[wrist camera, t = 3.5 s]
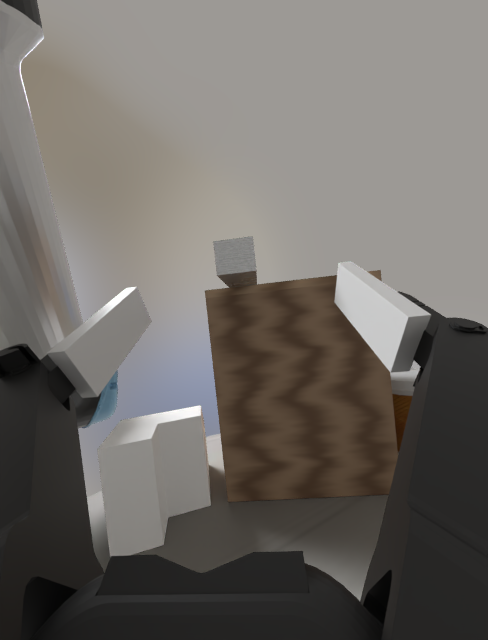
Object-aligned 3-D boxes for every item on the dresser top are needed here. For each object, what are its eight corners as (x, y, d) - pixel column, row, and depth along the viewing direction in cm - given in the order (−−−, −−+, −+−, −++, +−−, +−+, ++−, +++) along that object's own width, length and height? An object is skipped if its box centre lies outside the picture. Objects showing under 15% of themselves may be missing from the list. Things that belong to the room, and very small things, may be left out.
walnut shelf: (228, 502, 28) (204, 290, 27) (236, 445, 40) (220, 297, 39) (401, 493, 26) (380, 270, 26) (356, 437, 38) (341, 284, 38)
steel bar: (217, 275, 19) (213, 241, 19) (238, 296, 41) (237, 281, 41) (256, 270, 18) (252, 236, 18) (257, 294, 40) (255, 279, 40)
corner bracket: (110, 561, 22) (97, 449, 22) (140, 481, 33) (132, 406, 33) (212, 530, 24) (200, 428, 24) (208, 465, 36) (200, 394, 35)
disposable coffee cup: (376, 424, 42) (370, 364, 42) (441, 436, 36) (434, 367, 36) (370, 451, 35) (363, 378, 34) (451, 472, 29) (443, 385, 29)
